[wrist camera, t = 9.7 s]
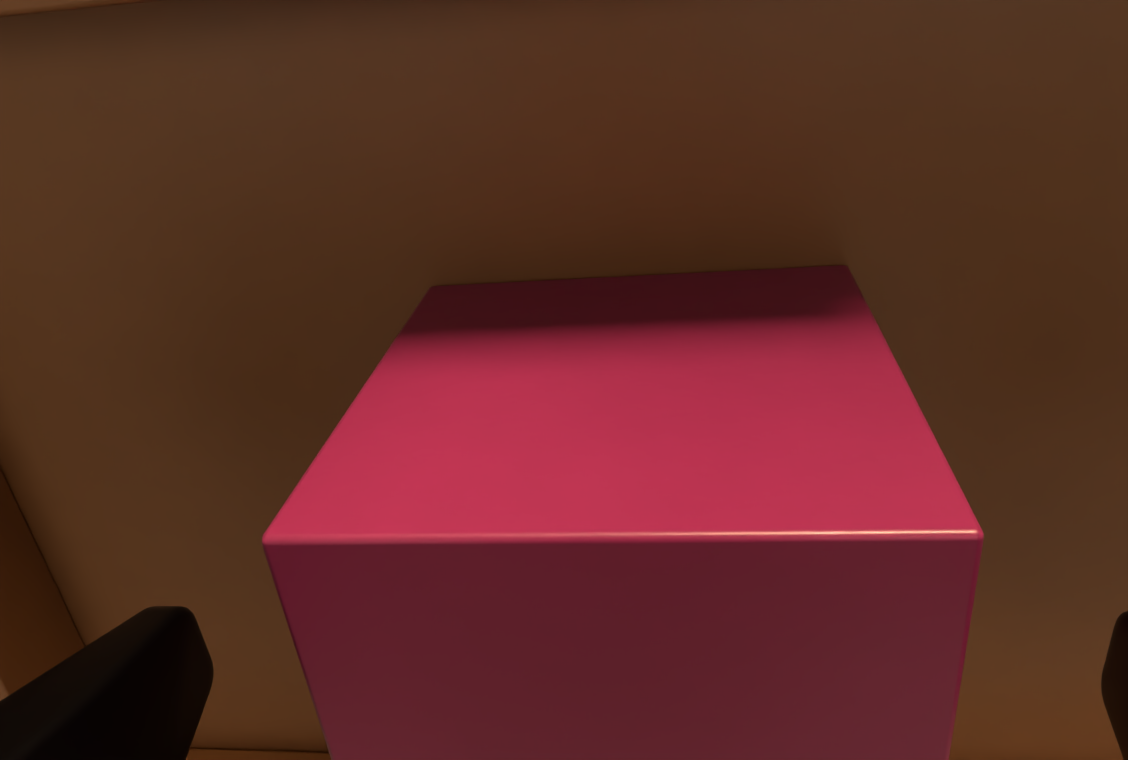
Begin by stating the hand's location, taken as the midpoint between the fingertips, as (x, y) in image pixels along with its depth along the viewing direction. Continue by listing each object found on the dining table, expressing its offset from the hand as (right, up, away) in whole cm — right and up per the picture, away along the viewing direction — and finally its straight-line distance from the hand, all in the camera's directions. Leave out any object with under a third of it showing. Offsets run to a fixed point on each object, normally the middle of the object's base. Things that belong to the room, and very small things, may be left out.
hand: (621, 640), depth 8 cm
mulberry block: (0, +2, +3) cm, 3 cm away
